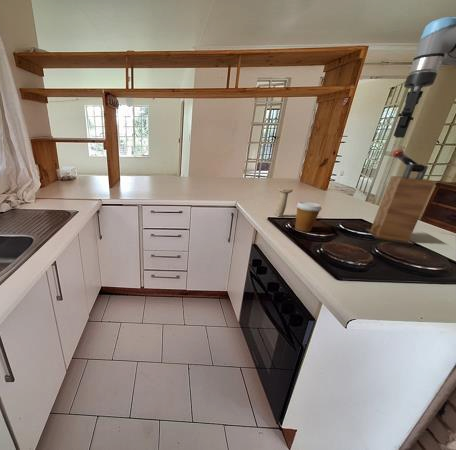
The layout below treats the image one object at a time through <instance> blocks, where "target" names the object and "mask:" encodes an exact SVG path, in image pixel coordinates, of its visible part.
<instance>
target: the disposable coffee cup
mask: <svg viewBox="0 0 456 450" xmlns="http://www.w3.org/2000/svg"><path fill="white" fill-rule="evenodd" d="M321 210H322V204H318V203H315V202H309V201H298V203H297V204H296V216H295V225H294V229H295V230H297V231H301V232H307V233H308V232H311V231H312V228H313V226H314V225H315V222H316V220H317V218H318V216H319V213H320V211H321Z"/></svg>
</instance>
